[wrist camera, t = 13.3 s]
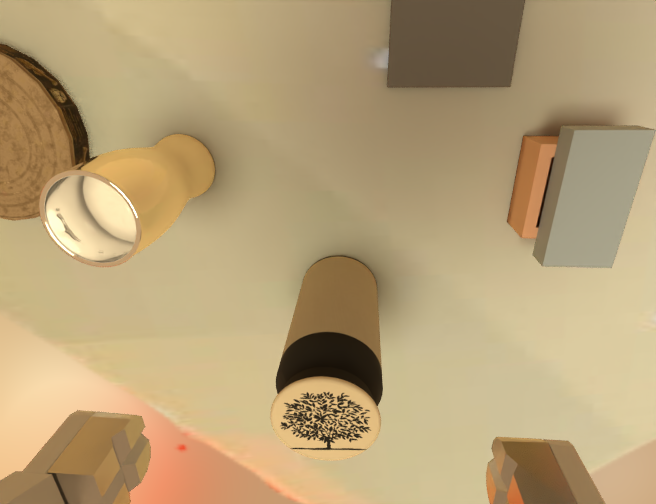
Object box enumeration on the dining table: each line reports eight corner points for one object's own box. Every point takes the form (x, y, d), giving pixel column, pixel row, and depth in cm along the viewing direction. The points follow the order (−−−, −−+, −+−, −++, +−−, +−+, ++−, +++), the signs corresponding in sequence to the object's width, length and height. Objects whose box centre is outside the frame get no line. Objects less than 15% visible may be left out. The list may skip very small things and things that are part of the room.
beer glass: (212, 126, 37) (126, 163, 24) (225, 199, 40) (155, 269, 27) (140, 130, 38) (17, 169, 25) (158, 202, 41) (57, 271, 27)
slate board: (561, 125, 31) (574, 130, 29) (637, 125, 31) (655, 130, 29) (532, 255, 36) (542, 266, 34) (598, 256, 35) (611, 268, 33)
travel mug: (304, 251, 42) (266, 371, 26) (381, 258, 42) (392, 384, 25) (301, 315, 45) (266, 457, 29) (372, 322, 45) (377, 470, 29)
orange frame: (523, 135, 36) (541, 144, 32) (619, 136, 35) (649, 144, 31) (507, 221, 39) (521, 238, 35) (594, 223, 38) (618, 240, 35)
